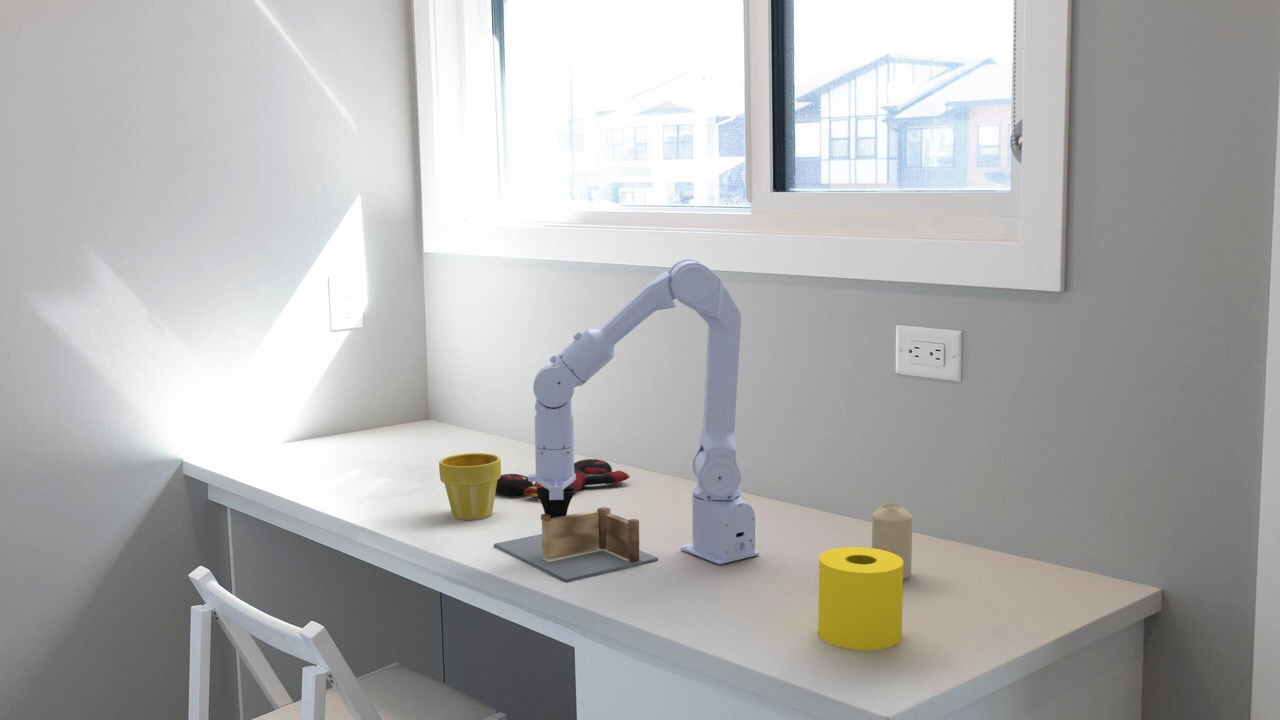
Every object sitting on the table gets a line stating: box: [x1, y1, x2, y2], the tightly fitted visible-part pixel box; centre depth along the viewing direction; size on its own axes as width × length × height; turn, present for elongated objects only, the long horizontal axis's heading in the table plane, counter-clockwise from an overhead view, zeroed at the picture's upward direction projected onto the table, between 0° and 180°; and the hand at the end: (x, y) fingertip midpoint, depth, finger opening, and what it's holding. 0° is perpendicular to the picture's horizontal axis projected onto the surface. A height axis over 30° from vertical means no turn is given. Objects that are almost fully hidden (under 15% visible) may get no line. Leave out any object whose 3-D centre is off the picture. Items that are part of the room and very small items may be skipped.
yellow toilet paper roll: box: [817, 546, 904, 651], centre depth 139 cm, size 10×10×9 cm
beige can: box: [871, 503, 913, 580], centre depth 161 cm, size 6×6×10 cm
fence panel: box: [540, 510, 599, 558], centre depth 170 cm, size 9×1×6 cm, turn 123°
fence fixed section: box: [596, 507, 640, 562], centre depth 170 cm, size 10×2×6 cm, turn 36°
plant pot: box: [438, 452, 502, 521], centre depth 193 cm, size 10×10×10 cm
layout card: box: [493, 533, 659, 583], centre depth 173 cm, size 21×16×1 cm
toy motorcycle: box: [495, 458, 631, 498], centre depth 211 cm, size 25×5×16 cm
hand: (556, 534), depth 171 cm, fingers closed, pressing on fence panel
